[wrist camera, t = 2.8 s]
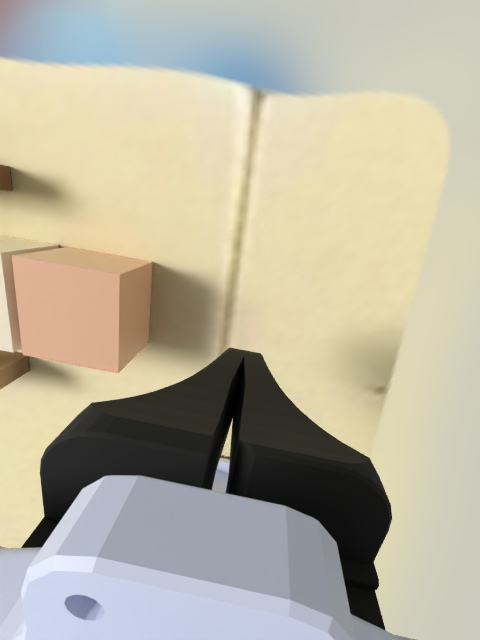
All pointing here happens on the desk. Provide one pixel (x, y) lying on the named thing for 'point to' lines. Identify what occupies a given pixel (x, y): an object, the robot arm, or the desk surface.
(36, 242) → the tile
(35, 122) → the desk surface
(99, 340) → the pink cube-like block
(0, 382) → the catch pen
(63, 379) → the desk surface
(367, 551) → the robot arm
